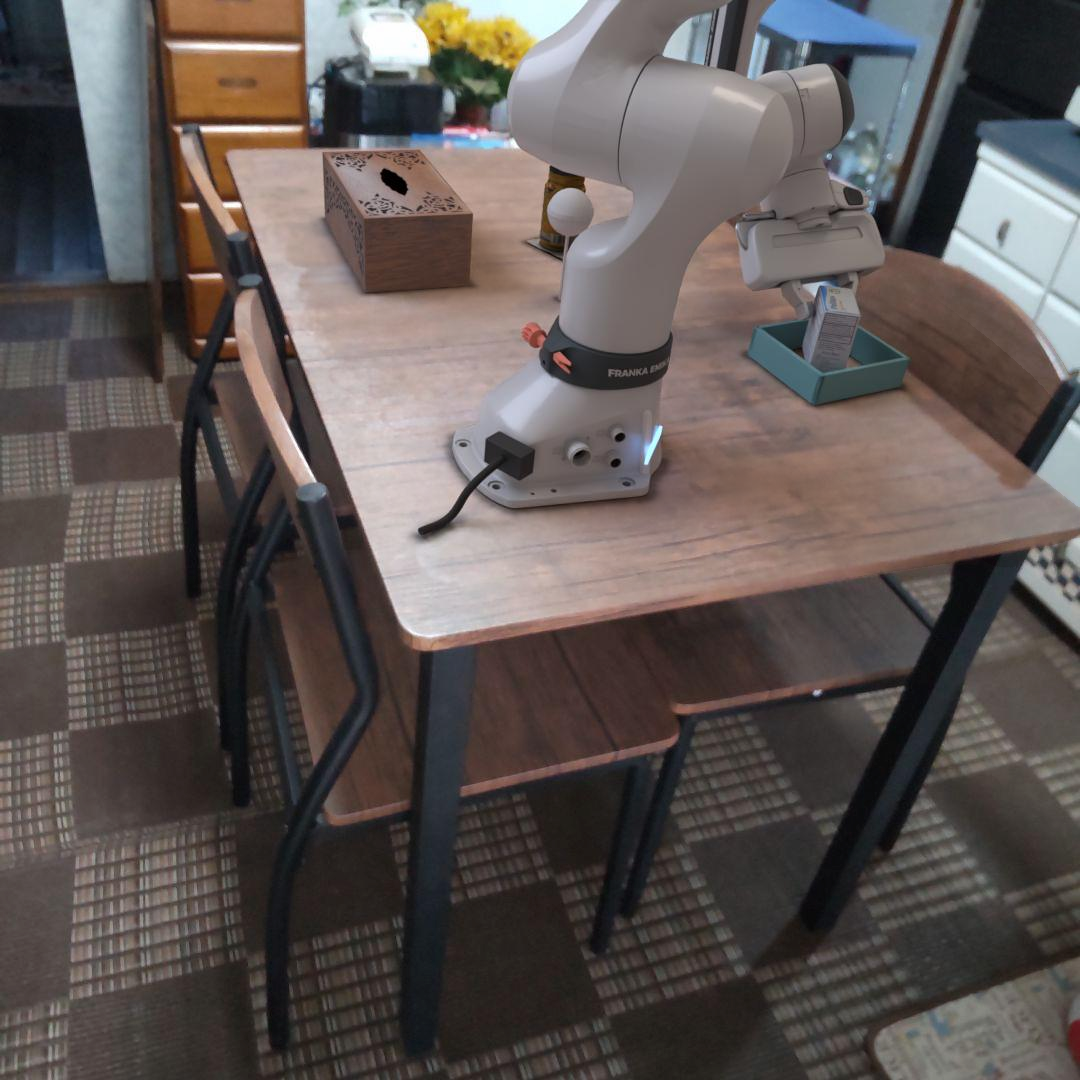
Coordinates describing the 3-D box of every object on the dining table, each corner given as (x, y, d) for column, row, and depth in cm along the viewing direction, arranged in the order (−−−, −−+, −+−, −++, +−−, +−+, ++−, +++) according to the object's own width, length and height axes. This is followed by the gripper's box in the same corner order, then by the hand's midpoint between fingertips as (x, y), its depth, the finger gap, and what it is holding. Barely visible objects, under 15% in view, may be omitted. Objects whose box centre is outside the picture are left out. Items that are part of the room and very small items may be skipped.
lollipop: (560, 286, 139) (573, 178, 130) (591, 302, 136) (606, 192, 127) (528, 296, 135) (539, 186, 126) (559, 313, 132) (572, 201, 123)
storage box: (813, 405, 119) (822, 376, 116) (747, 355, 128) (754, 326, 125) (900, 387, 125) (910, 358, 122) (831, 339, 134) (839, 312, 131)
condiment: (560, 233, 154) (568, 154, 147) (599, 252, 150) (609, 171, 142) (525, 242, 150) (532, 161, 143) (564, 262, 146) (573, 180, 138)
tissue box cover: (325, 219, 150) (322, 151, 144) (418, 215, 155) (419, 149, 148) (365, 292, 131) (364, 218, 125) (469, 285, 136) (473, 213, 130)
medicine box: (842, 381, 121) (863, 315, 116) (805, 375, 121) (824, 309, 116) (835, 352, 127) (854, 288, 122) (800, 347, 128) (818, 283, 122)
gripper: (747, 203, 116) (778, 316, 116) (877, 191, 125) (906, 296, 124) (717, 226, 122) (747, 334, 122) (843, 213, 131) (871, 314, 130)
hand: (828, 315), depth 123 cm, fingers closed on medicine box, 5 cm apart
